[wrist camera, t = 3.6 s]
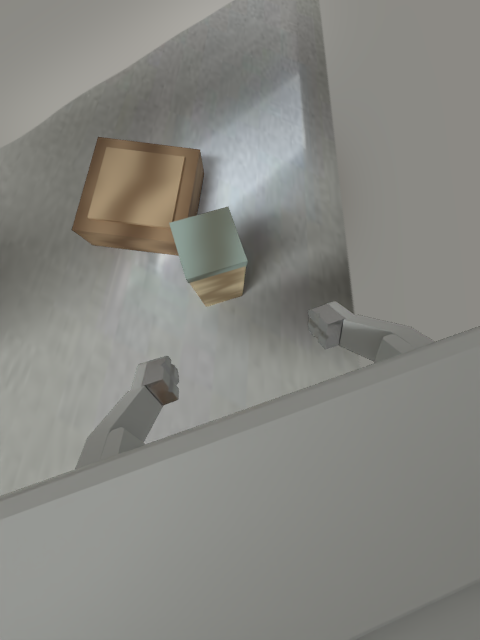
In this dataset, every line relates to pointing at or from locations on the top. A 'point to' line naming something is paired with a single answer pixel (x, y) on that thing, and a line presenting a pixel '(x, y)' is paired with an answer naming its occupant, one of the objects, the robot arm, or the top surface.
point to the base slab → (138, 194)
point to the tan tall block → (211, 255)
